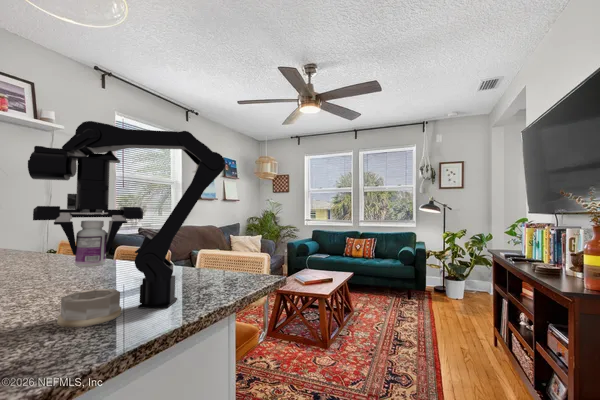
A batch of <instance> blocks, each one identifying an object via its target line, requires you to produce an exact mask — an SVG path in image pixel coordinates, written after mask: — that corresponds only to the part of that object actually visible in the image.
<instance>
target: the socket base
mask: <svg viewBox="0 0 600 400" xmlns="http://www.w3.org/2000/svg"><path fill="white" fill-rule="evenodd" d="M120 303H121V291H119V290H117V289H115V288H95V289H88V290H83V291H82V290H81V291H76V292H72V293H70V294H67V295H65V296H62V297H61V301H60V314H59V315H58V316H57V320H56V321H57V322H56V323H57V325H58V326H60V327H62V328H63V327H64V328H84V327H89V326H96V325H100V324H103V323H106V322H110V321H113V320H115V319H116V317H117V318H118V317H119V316H121V314H122V306H121V305H120Z"/></svg>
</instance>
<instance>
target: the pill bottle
mask: <svg viewBox="0 0 600 400" xmlns="http://www.w3.org/2000/svg"><path fill="white" fill-rule="evenodd" d="M104 226H105V224H104V220H81V221H80V227H81V229H80V230H79V231H77V232H76V235H75V236H76V237H75V244H76V255H74V256H75V257H74V258H75V259H74V263H75V264H74V265H75V267H77V268H93V267H94V268H95V267H100V266H101V267H102V266H103V265H105V264H106V261H107V253H106V243H107V235H108V232H107V231H106V230H104V229H103V228H104Z"/></svg>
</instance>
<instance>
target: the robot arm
mask: <svg viewBox="0 0 600 400" xmlns="http://www.w3.org/2000/svg"><path fill="white" fill-rule="evenodd" d="M74 132H75V134H73V136H71V137H70V139H68V140H67V141H66V142H65V143H64V144H63V145H62V146H61V148H57V147H46V146H41V145H35V146H34V147H33V148H34V149H33V151H32V152H31V153H30V155H29V159H28V160H27V170H28V174H29V176H30V178H31V179H32V180H40V181H41V180H44V181H46V180H48V181H69V180H70V179H71V178H74V177H75V176H76V193H67V196H66V198H67V199H66V209H65V208H61V206H60V205H59V206H58V205H57V206H56V205H37V206H36V207H34V208H33V210H32V221H53V225H56V226H57V225H58V226H59V225H60V227H61V229H62V230H63V233H64V235H66V238H67V241H68V244H69V247H70V249H71V253H72V255H73V256H75V255H76V237H75V236H76V235H75V230H74V229H75V228H74V223H73V221H71V220H73V218H110V219H111V220H108V229H107V243H106V254H107V253H109V252H110V249H111V247H112V246H113V243H114V241H115V238H116V236H117V234H118V232H119V230H120V229H121V227H122V226H123V224H128V223H129V221H128V220H142V219H144V210H143V208H142V207H141V206H121V207H119V209H109V204H110V203H109V201H110V199H109V198H110V166H111V165H110V163H111V164H119V163H121V160H120V159H119V158H118V157H117V156H116V155H115V154H114V152H118V151H120V150H125V149H152V150H153V149H157V150H158V149H159V150H161V149H163V150H182V151H183V152H184V153H185V154H186V155H187V156H188V157H189V158H190V160H192V162H194V164H195V165H197V167H196V171H195V173H194V175H193V177H192V180H191V182H190V184H189V186H188V187H187V188H186V190H185V191H184V193H183V194H182V196H181V197H180V199H179V201H178V202H177V204H176V206H174V208H173V209H172V211H171V213H170V214H169V216H168V217H167V219H166V220H165V222H164V223H163V225H162V226H161V228H160V229H159V231H158V232H157V233H156V234H155V235H154V236H153V237H152V236H151V235H150V234H147V235H146V236H145V237H144V239H143V240H142V244H141V246H140V247H138V248H137V249H135V251H134V253H135V254H136V256H135V258H134V265H135V268H136V269H137V271H138V272H140V273H142V274H143V275H144V277H142V280H141V281H142V284H140V285H139V304H138V305H137V309H167V308H169V307H170V306H171V305H172V304H174V303H175V302H176V301H177V300H178V297H176V295H175V294H176V275H173V273H174V264H173V263H171V261H169V260H168V259H167V256H168V253H169V250H170V247H171V245H172V243H173V240H174V239H175V237H176V235H177V234H178V232H179V230H180V229H181V227H182V226H183V224H184V223H185V221H186V220H187V218H188V216H189V215H190V214H191V212H192V210H193V209H194V207H195V205H197V204H198V201H199V199H200V198H201V197H202V195H203V193H204V192H205V191H206V189H207V188H208V187H209V186H210V185H211V184H212V183H213V182H214V181H215V180H216V179H217V178H218V177H219V175H221V173H222V172H224V170H225V168H226V161H225V158H224V157H223V156H222V155H221V154H220V153H218V152H217V151H213V150H212V149H211V148H210V147H209V146H207V145H206V144H205V143H203V142H202V141H200V140H199V139H198V138H196V137H195V136H194V135H193V133H191V132H190V131H188V130H187V131H186V130H182V131H175V130H172V131H170V130H150V129H131V128H123V127H118V126H116V125H112V124H108V123H105V122H100V121H99V122H98V121H93V120H87V121H83V122H81V123H80V124H79V125H78V126H77V127H76V129H75V131H74ZM76 174H77V175H76Z"/></svg>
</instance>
